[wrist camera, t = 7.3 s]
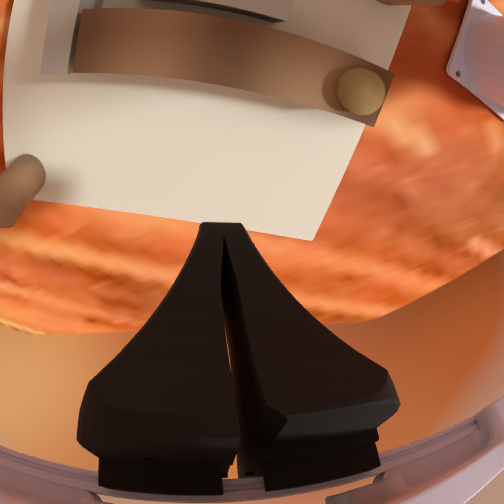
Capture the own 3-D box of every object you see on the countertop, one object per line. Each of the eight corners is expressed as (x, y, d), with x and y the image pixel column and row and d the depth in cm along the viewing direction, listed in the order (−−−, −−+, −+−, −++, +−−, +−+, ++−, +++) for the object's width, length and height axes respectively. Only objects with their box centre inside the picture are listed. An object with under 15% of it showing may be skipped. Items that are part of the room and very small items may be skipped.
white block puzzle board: (408, -22, 11) (465, -25, 7) (307, 228, 23) (328, 281, 19) (55, -86, 5) (12, -106, 1) (18, 186, 17) (-18, 232, 13)
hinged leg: (367, 64, 14) (400, 75, 11) (350, 110, 16) (379, 131, 13) (104, 11, 10) (77, 8, 8) (95, 64, 12) (67, 75, 9)
